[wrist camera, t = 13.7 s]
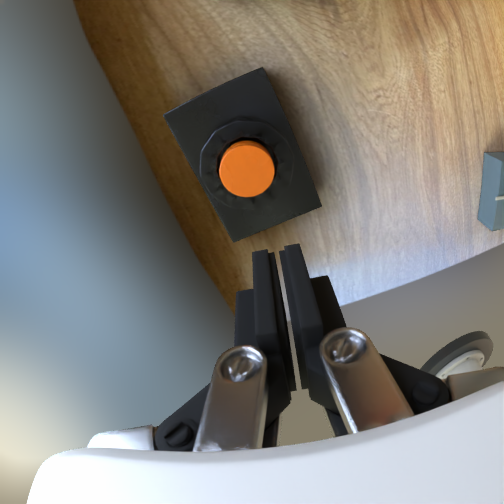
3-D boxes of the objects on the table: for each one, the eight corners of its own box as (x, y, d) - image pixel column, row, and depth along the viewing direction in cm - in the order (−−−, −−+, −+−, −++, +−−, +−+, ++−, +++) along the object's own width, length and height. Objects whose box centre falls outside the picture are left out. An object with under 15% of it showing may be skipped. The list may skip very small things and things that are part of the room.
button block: (316, 196, 26) (327, 216, 23) (233, 230, 28) (232, 254, 24) (261, 68, 20) (264, 65, 17) (169, 112, 22) (155, 118, 18)
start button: (280, 176, 21) (283, 184, 20) (234, 196, 22) (234, 205, 21) (259, 132, 20) (261, 136, 18) (212, 153, 20) (209, 159, 19)
